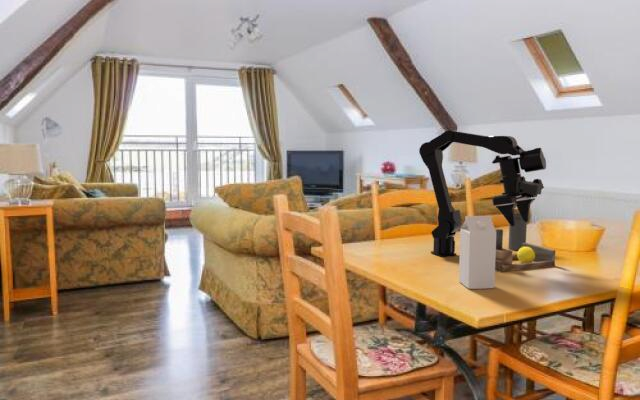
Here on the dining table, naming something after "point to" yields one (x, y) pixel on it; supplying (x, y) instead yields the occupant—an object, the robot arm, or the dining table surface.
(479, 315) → the dining table surface
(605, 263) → the dining table surface
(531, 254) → the lemon
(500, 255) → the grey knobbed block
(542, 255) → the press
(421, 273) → the dining table surface
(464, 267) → the milk carton
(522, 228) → the bottle
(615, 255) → the dining table surface
